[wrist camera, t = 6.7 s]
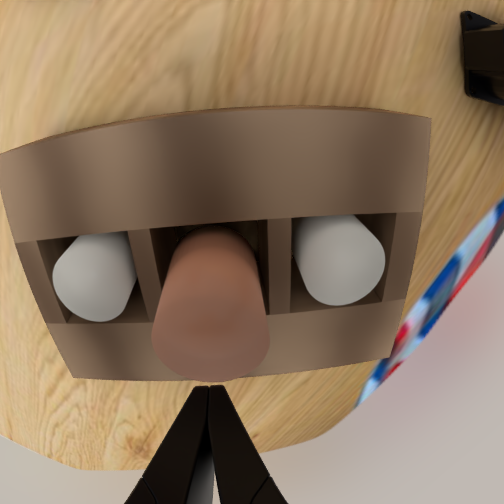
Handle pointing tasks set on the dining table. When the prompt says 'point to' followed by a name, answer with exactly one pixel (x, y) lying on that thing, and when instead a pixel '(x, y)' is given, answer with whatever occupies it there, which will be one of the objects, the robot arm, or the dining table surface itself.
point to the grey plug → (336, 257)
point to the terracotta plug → (211, 308)
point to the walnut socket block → (222, 210)
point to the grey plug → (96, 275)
